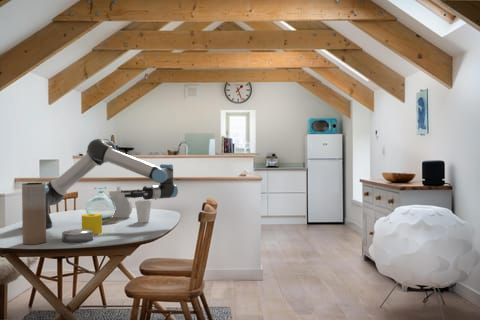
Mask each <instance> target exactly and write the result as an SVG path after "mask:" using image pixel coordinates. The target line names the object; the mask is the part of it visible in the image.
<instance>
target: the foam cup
mask: <svg viewBox="0 0 480 320" xmlns="http://www.w3.org/2000/svg"><path fill="white" fill-rule="evenodd" d="M134 203H135V209H136V217H137V223H142V224H144V223H143V222H146V223H150V217H151V216H150V215H151V207H152V199H148V200H145V199H144V198H143V199H141V198H140V199H135V201H134Z"/></svg>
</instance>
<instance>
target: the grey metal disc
mask: <svg viewBox="0 0 480 320" xmlns="http://www.w3.org/2000/svg"><path fill="white" fill-rule="evenodd" d="M93 240H94V235H93V231H92V230H88V229H82V228H79V229H70V230H64V231H63V232H62V233H61V241H62V243H67V244H68V243H69V244H79V243H87V242H91V241H93Z"/></svg>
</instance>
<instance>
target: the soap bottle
mask: <svg viewBox="0 0 480 320" xmlns="http://www.w3.org/2000/svg"><path fill="white" fill-rule="evenodd" d="M121 190H122V189H121V185H118V186H116V191H121ZM109 198H110V199H111V200H112V201H113V202H114V203H115V206H116V210H115V213H114V215H113V217H118V218H117V219H127V218H129V217H130V216H131V214H132V213H133V212H132V211H133V203H132V200H131V198H121V199H118V196H109Z"/></svg>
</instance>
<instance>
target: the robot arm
mask: <svg viewBox="0 0 480 320" xmlns="http://www.w3.org/2000/svg"><path fill="white" fill-rule="evenodd" d="M86 149H87V150H86V154H85V155H84V156H83V157H81V158H80V159H79V160H78V161H77V162H75V163H74V165H72V166H71V167H70V168H68V169H67V170H66V171H65V172H64V173H62V174H61V175H60V176H59V177H58V178H56V179H51V180H50V181H49V182H48V183H47V184H46V183H45V199H46V230H47V229H51V228H52V227H53V221H52V218H51V216H50V213H49V209H50V207H51V206H55V205H58V204H59V203H60V202H62V201H63V199H64V197H65V196H66V195H67V191H68V190H69V189H70V188H71V187H73V186H74V185H75V184H76V183H77V182H79V181H80V180H81V179H82V178H83V177H85V176H86V175H87V174H88V173H90V171H92V170H93V169H94V168H96V166H102V165H103V164H106V163H109V164H112V165H114V166H118V167H120V168H123V169H126V170H128V171H131V172H132V173H136V174H138V175H140V176H143V177H146V178H148V179H151V180H153V181H154V182H155V183H159V185H144V186H143V187H142V189H131V190H129V189H125V190H124V189H123V190H122V189H120V190H121V191H117V190H113V191H112V190H111V191H108V193H109V194H108V195H109V197H111V196H118V199H121V198H129V199H138V198H143V199H145V200H148V199H149V200H155V201H156V200H157V199H159V200H160V199H171V198H176V197H177V196H178V195H179V194H178V193H179V189H178V186H177V185H176V184H174V165H173V164H172V163H164V164H163V163H162V164H160V165H159V166H157V165H155V164H152V163H149V162H146V161H144V160H141V159H139V158H137V157H134V156H131V155H129V154H126V153H124V152H122V151H118V149H117V147H116V144H115V143H114V142H113V141H112V140H110V139H107V138H104V139H102V138H96V139H93V140H91V141H90V142H89V144H88V145H87V148H86ZM21 227H22V230H23V225H21Z"/></svg>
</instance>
